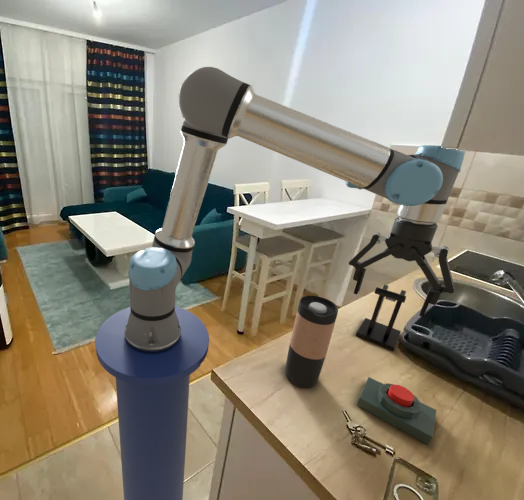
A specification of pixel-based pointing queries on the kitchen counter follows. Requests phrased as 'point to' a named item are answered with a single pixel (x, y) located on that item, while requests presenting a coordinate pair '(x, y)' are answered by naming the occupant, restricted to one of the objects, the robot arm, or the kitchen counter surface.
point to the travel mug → (310, 340)
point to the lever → (390, 295)
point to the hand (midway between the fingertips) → (387, 302)
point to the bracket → (381, 326)
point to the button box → (398, 411)
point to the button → (401, 395)
